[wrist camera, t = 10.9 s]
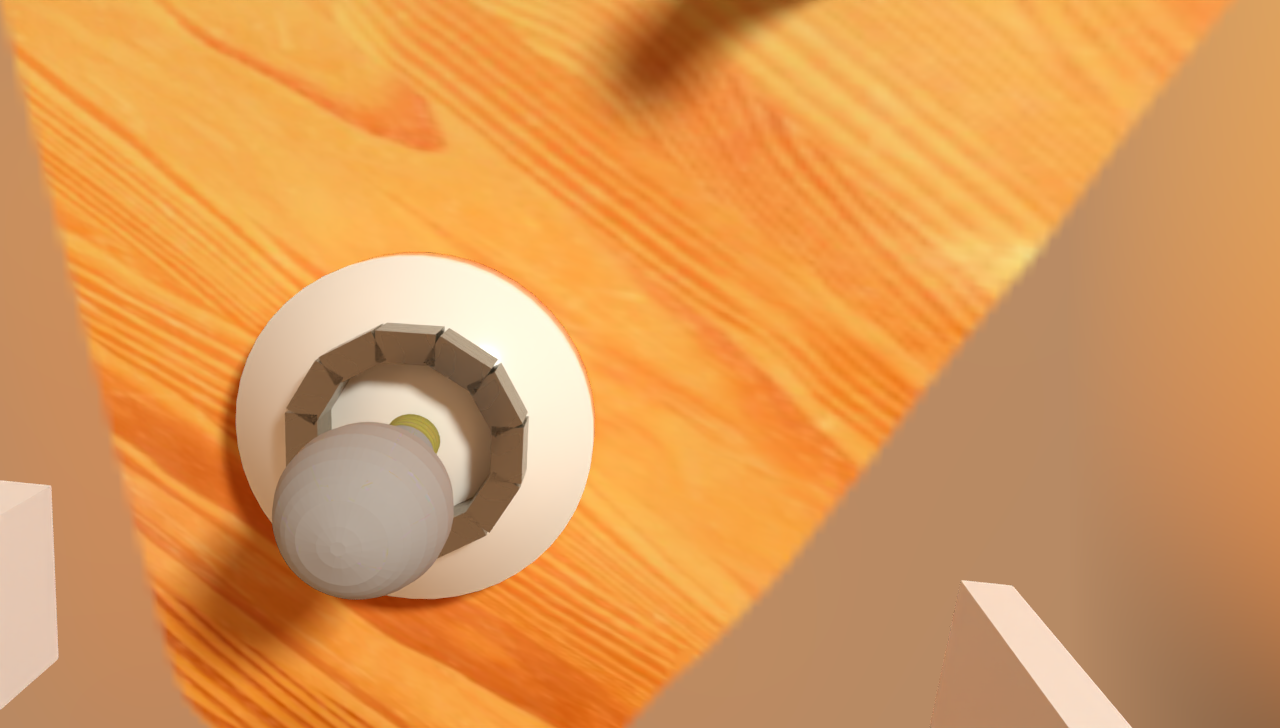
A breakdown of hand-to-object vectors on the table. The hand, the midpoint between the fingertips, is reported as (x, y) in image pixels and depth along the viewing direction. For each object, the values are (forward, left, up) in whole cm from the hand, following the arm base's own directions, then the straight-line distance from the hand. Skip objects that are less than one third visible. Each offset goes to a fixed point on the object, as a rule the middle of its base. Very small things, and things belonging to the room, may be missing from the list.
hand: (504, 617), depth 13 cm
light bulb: (+5, -6, -22) cm, 24 cm away
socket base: (+5, -7, -24) cm, 26 cm away
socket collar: (+5, -7, -22) cm, 24 cm away
